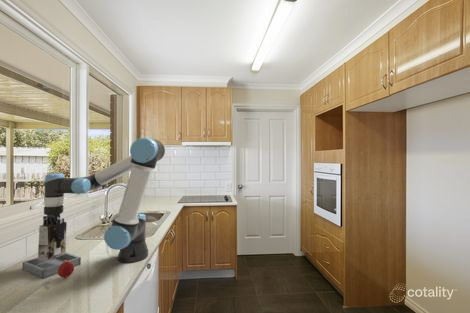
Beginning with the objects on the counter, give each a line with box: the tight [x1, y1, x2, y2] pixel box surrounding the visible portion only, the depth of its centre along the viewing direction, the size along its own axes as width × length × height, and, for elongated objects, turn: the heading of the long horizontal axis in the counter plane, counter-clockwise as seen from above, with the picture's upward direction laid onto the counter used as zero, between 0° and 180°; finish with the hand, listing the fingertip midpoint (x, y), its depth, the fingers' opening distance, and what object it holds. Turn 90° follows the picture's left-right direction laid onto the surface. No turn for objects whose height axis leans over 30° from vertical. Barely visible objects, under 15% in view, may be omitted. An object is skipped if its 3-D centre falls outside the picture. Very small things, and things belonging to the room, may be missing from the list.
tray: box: [22, 252, 82, 280], centre depth 114 cm, size 18×16×4 cm
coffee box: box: [37, 221, 68, 261], centre depth 114 cm, size 9×6×16 cm
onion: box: [57, 260, 75, 279], centre depth 104 cm, size 6×6×8 cm
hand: (52, 252), depth 114 cm, fingers closed on coffee box, 7 cm apart
